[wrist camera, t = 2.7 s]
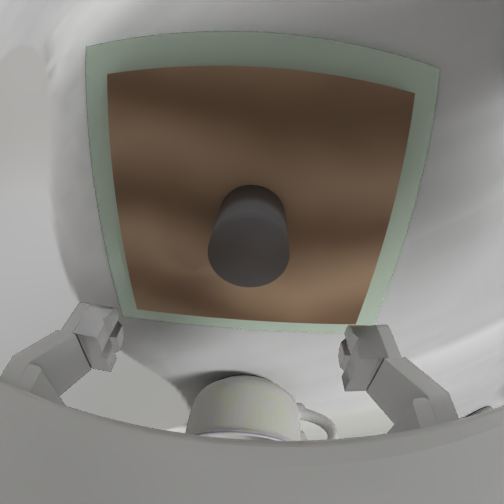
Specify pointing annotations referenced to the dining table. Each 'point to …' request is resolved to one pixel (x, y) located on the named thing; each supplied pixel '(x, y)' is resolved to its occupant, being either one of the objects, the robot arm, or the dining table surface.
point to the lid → (254, 188)
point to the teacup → (251, 412)
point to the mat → (273, 56)
